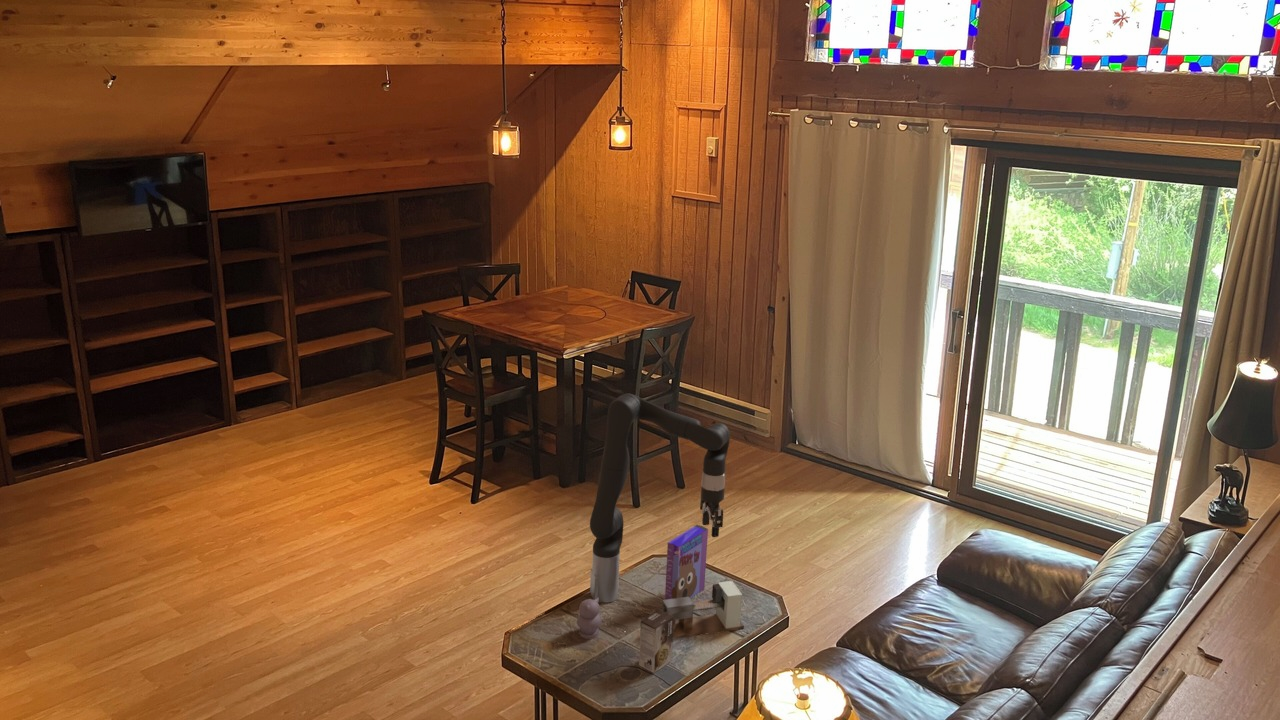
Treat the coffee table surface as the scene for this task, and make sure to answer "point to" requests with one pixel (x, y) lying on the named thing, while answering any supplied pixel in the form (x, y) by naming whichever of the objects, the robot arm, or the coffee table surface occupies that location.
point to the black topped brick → (714, 602)
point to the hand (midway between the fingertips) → (710, 530)
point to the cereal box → (686, 563)
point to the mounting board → (692, 619)
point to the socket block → (730, 605)
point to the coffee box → (656, 640)
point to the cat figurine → (589, 619)
